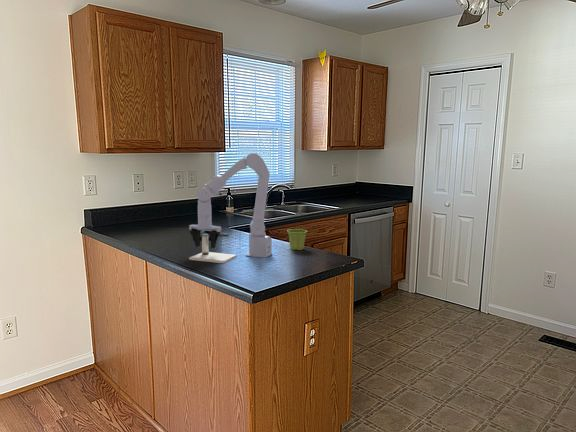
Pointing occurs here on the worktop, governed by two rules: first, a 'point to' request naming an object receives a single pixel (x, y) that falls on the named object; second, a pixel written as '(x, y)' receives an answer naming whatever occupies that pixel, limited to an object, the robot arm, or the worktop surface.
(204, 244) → the marker
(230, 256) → the notepad
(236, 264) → the worktop surface
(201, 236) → the door handle
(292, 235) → the plant pot
